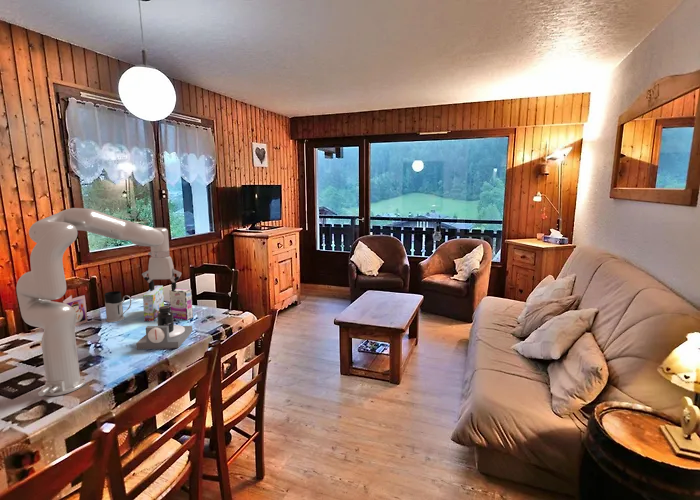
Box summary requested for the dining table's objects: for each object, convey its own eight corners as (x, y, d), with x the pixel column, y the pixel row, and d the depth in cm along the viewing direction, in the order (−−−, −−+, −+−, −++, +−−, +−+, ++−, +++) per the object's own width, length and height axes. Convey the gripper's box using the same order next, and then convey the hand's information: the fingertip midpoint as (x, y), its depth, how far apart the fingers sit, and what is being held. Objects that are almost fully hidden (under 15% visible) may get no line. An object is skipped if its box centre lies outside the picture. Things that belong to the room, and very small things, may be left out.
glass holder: (113, 316, 206) (110, 290, 204) (137, 317, 205) (135, 291, 203) (102, 321, 197) (99, 295, 195) (127, 322, 197) (125, 295, 194)
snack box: (155, 321, 199) (153, 294, 197) (143, 322, 198) (141, 295, 196) (165, 309, 220) (163, 284, 217) (155, 309, 218) (153, 285, 216)
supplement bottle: (167, 334, 171) (165, 310, 169) (154, 333, 172) (152, 308, 170) (177, 329, 178) (175, 305, 176) (164, 328, 179) (163, 304, 177)
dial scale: (177, 348, 165) (176, 327, 163) (135, 350, 163) (134, 328, 162) (192, 331, 185) (191, 312, 184) (155, 332, 184) (153, 313, 182)
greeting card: (67, 329, 186) (64, 301, 184) (56, 328, 188) (53, 300, 185) (88, 322, 197) (85, 295, 194) (78, 320, 199) (75, 294, 196)
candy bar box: (193, 317, 206) (192, 289, 203) (187, 320, 201) (185, 291, 198) (177, 315, 209) (175, 287, 206) (170, 318, 204) (168, 289, 201)
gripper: (137, 256, 164) (140, 292, 167) (176, 255, 166) (179, 292, 169) (144, 253, 172) (147, 288, 174) (182, 253, 174) (184, 288, 176)
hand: (163, 290), depth 172 cm, fingers open, 9 cm apart
